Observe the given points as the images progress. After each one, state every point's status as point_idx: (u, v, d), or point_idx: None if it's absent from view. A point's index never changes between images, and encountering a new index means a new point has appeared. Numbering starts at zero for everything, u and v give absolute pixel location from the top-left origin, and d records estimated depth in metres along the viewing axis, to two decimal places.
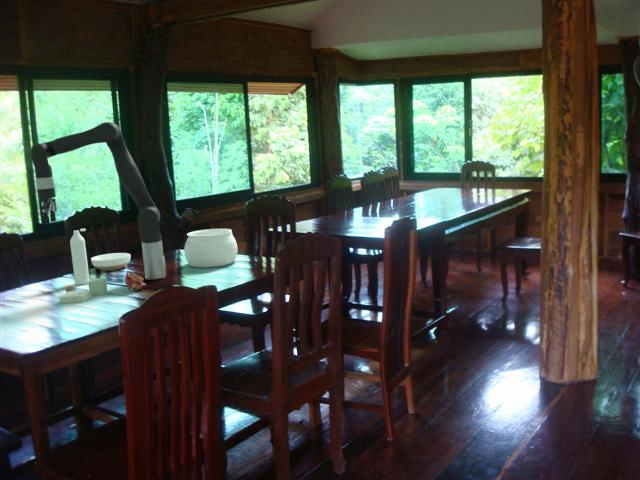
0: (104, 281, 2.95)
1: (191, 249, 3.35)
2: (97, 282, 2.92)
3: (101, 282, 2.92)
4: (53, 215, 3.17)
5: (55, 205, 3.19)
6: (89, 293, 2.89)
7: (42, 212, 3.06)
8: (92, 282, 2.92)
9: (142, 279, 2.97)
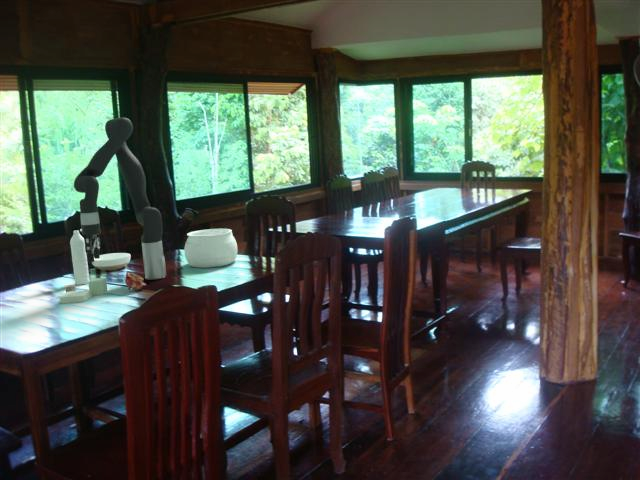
0: (104, 281, 2.95)
1: (191, 249, 3.35)
2: (97, 282, 2.92)
3: (101, 282, 2.92)
4: (97, 252, 2.97)
5: (99, 241, 2.99)
6: (89, 293, 2.89)
7: (87, 250, 2.86)
8: (92, 282, 2.92)
9: (142, 279, 2.97)
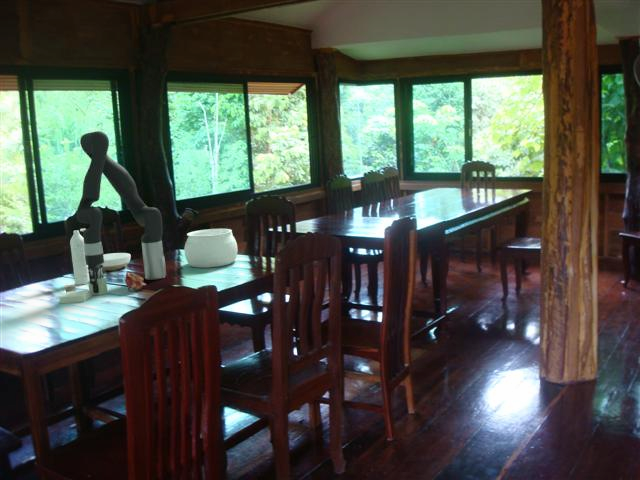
0: (104, 281, 2.95)
1: (191, 249, 3.35)
2: None
3: (101, 282, 2.92)
4: None
5: (102, 271, 3.00)
6: (89, 293, 2.89)
7: (91, 281, 2.89)
8: None
9: (142, 279, 2.97)
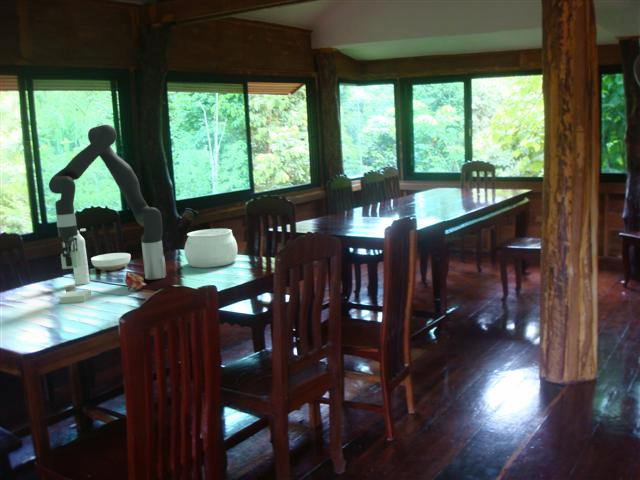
0: (77, 254, 2.84)
1: (191, 249, 3.35)
2: None
3: (74, 255, 2.81)
4: None
5: (76, 245, 2.89)
6: (89, 293, 2.89)
7: (64, 254, 2.78)
8: None
9: (142, 279, 2.97)
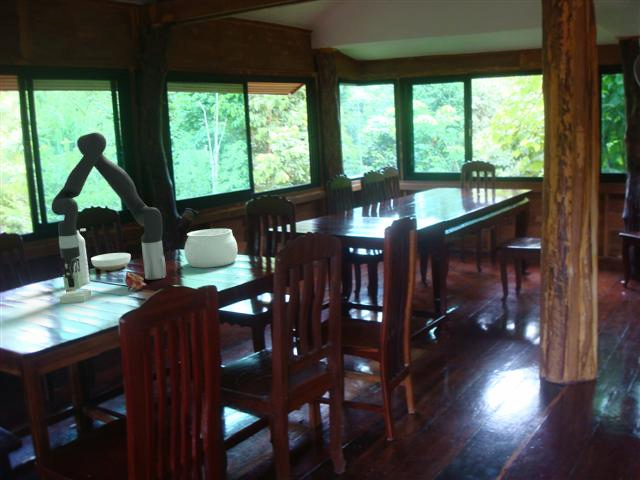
0: (80, 275, 2.85)
1: (191, 249, 3.35)
2: None
3: (76, 276, 2.82)
4: None
5: (79, 265, 2.90)
6: (89, 293, 2.89)
7: (66, 275, 2.79)
8: None
9: (142, 279, 2.97)
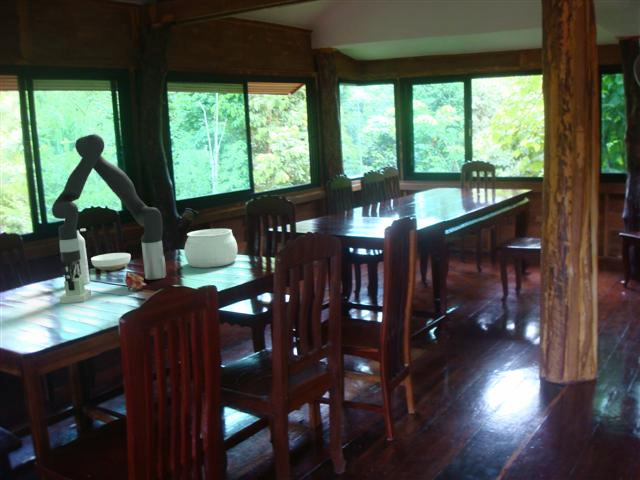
0: (81, 281, 2.86)
1: (191, 249, 3.35)
2: None
3: (77, 282, 2.83)
4: None
5: (79, 268, 2.91)
6: (89, 293, 2.89)
7: (67, 278, 2.79)
8: None
9: (142, 279, 2.97)
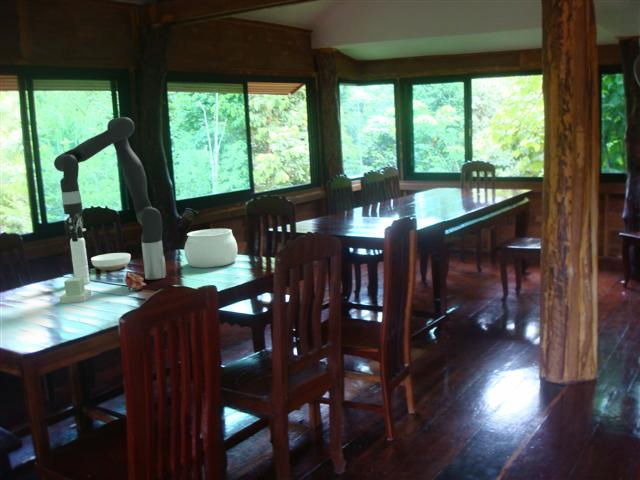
0: (81, 281, 2.86)
1: (191, 249, 3.35)
2: (73, 282, 2.83)
3: (77, 282, 2.83)
4: (80, 231, 2.95)
5: (82, 220, 2.96)
6: (89, 293, 2.89)
7: (70, 229, 2.84)
8: (68, 282, 2.83)
9: (142, 279, 2.97)
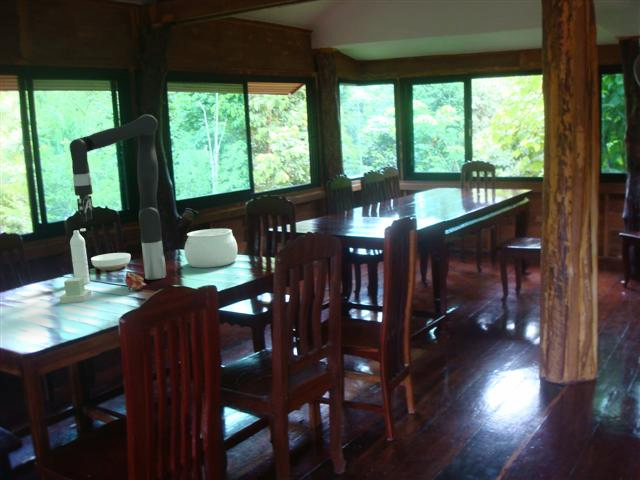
0: (81, 281, 2.86)
1: (191, 249, 3.35)
2: (73, 282, 2.83)
3: (77, 282, 2.83)
4: (89, 212, 3.10)
5: (91, 202, 3.11)
6: (89, 293, 2.89)
7: (79, 209, 2.99)
8: (68, 282, 2.83)
9: (142, 279, 2.97)
